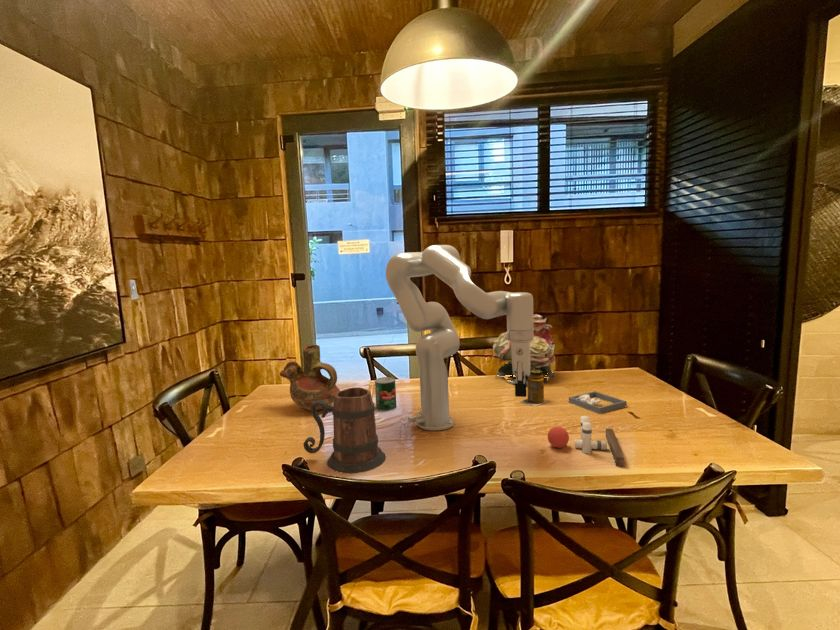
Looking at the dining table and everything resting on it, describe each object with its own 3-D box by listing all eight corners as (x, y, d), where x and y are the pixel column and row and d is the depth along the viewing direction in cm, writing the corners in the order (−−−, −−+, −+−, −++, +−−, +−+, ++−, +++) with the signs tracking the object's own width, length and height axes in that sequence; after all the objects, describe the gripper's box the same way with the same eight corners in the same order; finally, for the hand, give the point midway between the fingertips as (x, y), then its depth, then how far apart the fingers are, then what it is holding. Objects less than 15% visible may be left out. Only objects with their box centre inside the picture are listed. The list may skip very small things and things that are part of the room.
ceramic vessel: (293, 400, 187) (288, 340, 184) (351, 402, 181) (348, 341, 177) (270, 414, 171) (264, 349, 167) (334, 418, 164) (329, 350, 161)
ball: (568, 440, 127) (549, 448, 129) (574, 445, 132) (555, 452, 134) (560, 421, 131) (541, 429, 133) (566, 426, 135) (548, 433, 137)
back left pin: (585, 447, 132) (585, 419, 131) (578, 444, 134) (578, 416, 133) (591, 445, 133) (591, 417, 132) (584, 442, 135) (585, 415, 134)
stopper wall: (616, 466, 120) (616, 457, 119) (605, 436, 139) (605, 428, 139) (624, 466, 119) (624, 457, 119) (612, 436, 138) (612, 428, 138)
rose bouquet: (485, 376, 210) (484, 313, 206) (538, 368, 221) (537, 308, 217) (517, 391, 187) (516, 320, 183) (573, 381, 197) (574, 313, 193)
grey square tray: (599, 413, 158) (599, 408, 157) (568, 402, 171) (568, 397, 170) (626, 406, 164) (626, 401, 163) (594, 396, 177) (594, 391, 176)
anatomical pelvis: (602, 396, 165) (590, 398, 162) (602, 407, 166) (589, 409, 163) (585, 390, 172) (573, 392, 169) (584, 401, 173) (572, 403, 170)
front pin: (575, 445, 130) (607, 447, 128) (575, 437, 132) (606, 439, 130) (575, 449, 132) (606, 451, 129) (574, 442, 133) (605, 443, 131)
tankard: (389, 446, 138) (386, 383, 135) (381, 473, 121) (377, 401, 118) (314, 447, 139) (309, 384, 137) (296, 474, 123) (290, 403, 120)
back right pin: (586, 454, 127) (587, 425, 126) (580, 451, 129) (580, 423, 128) (593, 452, 128) (593, 424, 127) (586, 449, 130) (586, 421, 129)
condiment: (548, 401, 173) (548, 370, 172) (536, 406, 168) (536, 375, 166) (531, 397, 179) (531, 367, 177) (519, 402, 173) (519, 372, 171)
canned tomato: (387, 412, 168) (385, 383, 166) (371, 408, 172) (370, 381, 171) (400, 406, 174) (399, 378, 172) (385, 403, 179) (384, 376, 177)
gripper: (533, 340, 123) (533, 404, 126) (533, 330, 137) (534, 388, 140) (505, 339, 125) (506, 403, 128) (508, 330, 139) (509, 387, 142)
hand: (520, 395), depth 134 cm, fingers closed
